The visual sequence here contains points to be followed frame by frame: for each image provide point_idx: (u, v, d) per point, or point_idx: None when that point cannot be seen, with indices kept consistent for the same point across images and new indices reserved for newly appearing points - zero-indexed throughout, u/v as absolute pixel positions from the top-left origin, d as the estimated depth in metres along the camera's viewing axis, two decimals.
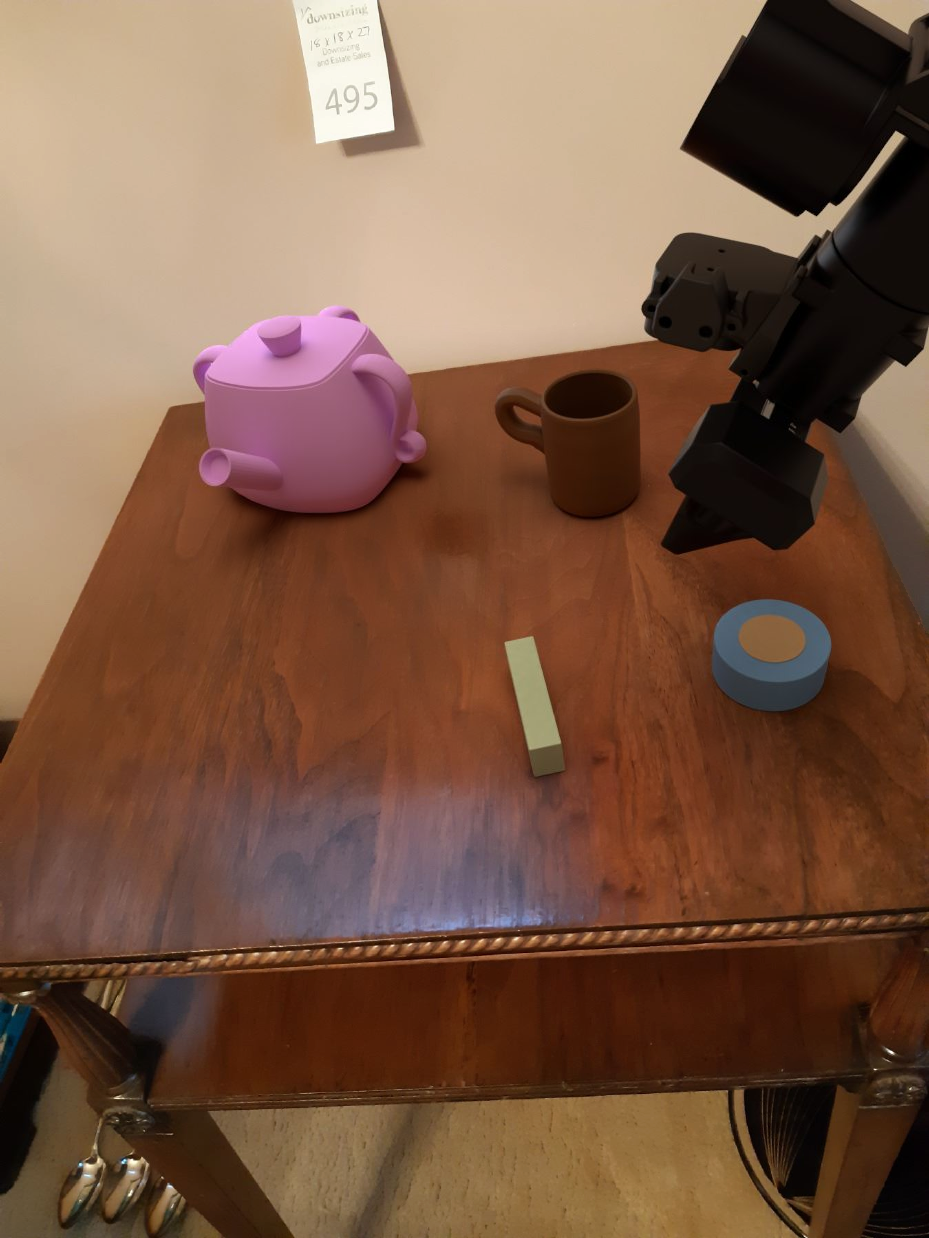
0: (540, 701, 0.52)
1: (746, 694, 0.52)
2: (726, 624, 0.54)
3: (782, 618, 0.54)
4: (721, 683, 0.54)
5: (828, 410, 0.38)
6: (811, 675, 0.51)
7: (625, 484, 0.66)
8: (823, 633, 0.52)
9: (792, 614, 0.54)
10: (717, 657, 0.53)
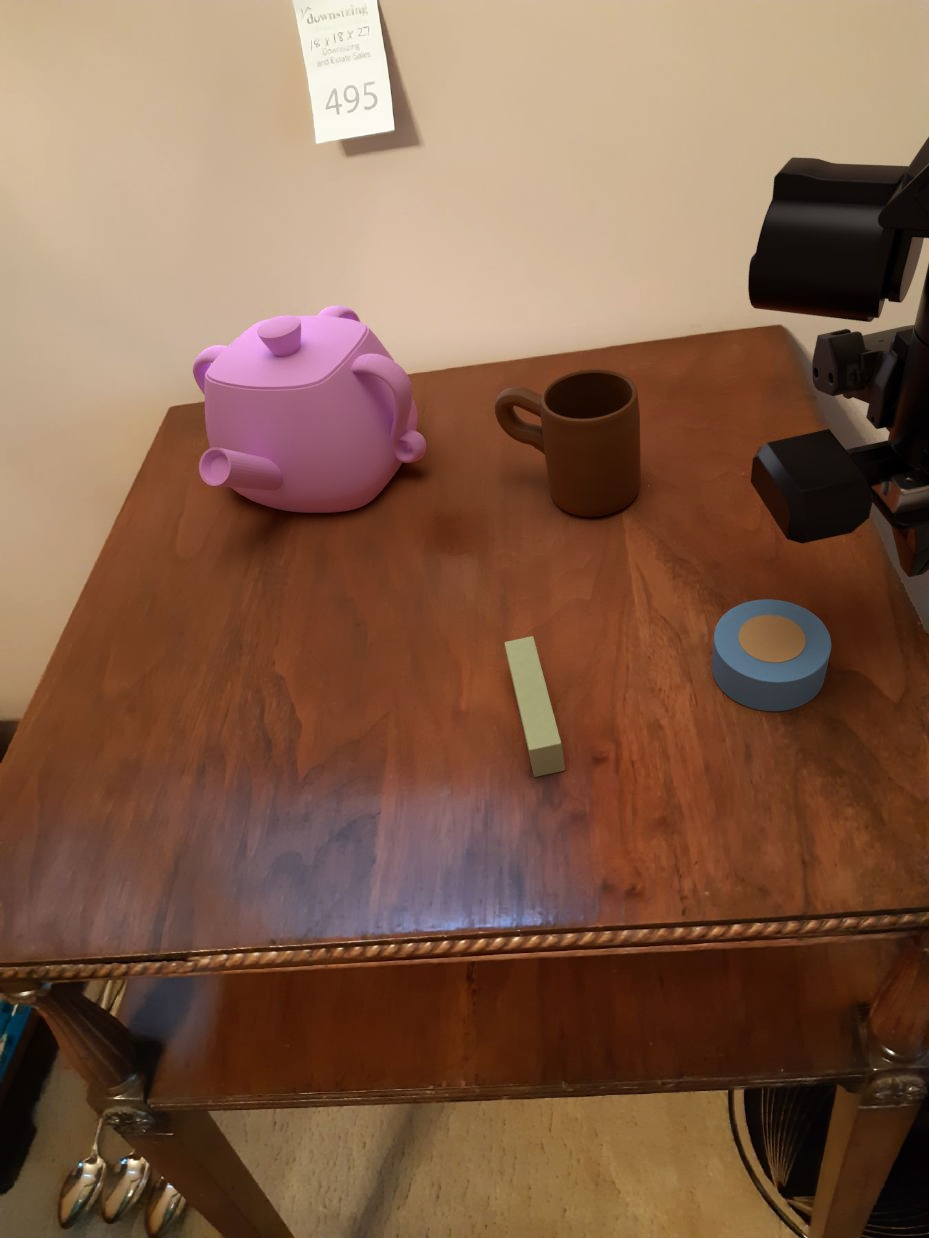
0: (540, 701, 0.52)
1: (746, 694, 0.52)
2: (726, 624, 0.54)
3: (782, 618, 0.54)
4: (721, 683, 0.54)
5: (923, 456, 0.42)
6: (811, 675, 0.51)
7: (625, 484, 0.66)
8: (823, 633, 0.52)
9: (792, 614, 0.54)
10: (717, 657, 0.53)
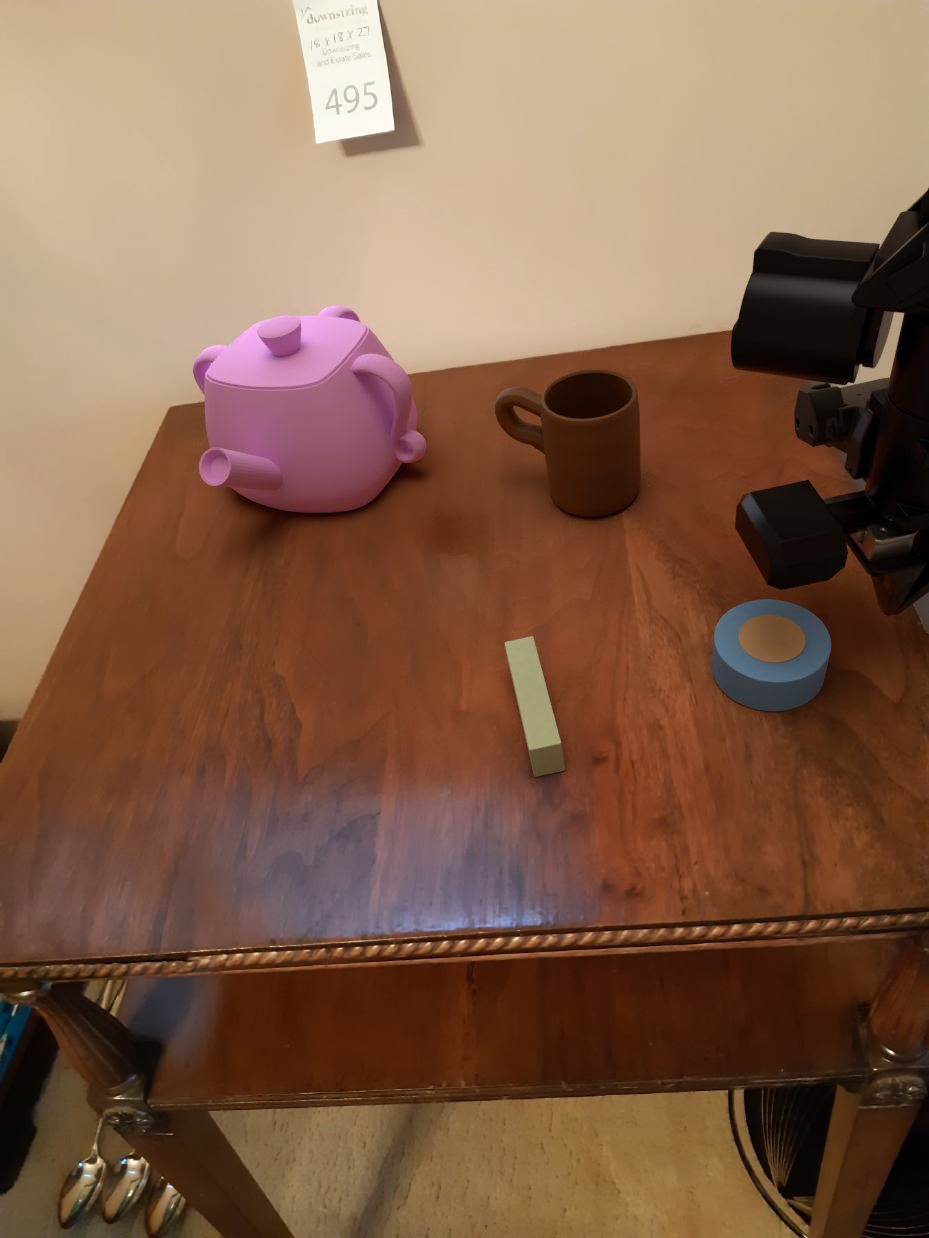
0: (540, 701, 0.52)
1: (746, 694, 0.52)
2: (726, 624, 0.54)
3: (782, 618, 0.54)
4: (721, 683, 0.54)
5: (896, 509, 0.44)
6: (811, 675, 0.51)
7: (625, 484, 0.66)
8: (823, 633, 0.52)
9: (792, 614, 0.54)
10: (717, 657, 0.53)
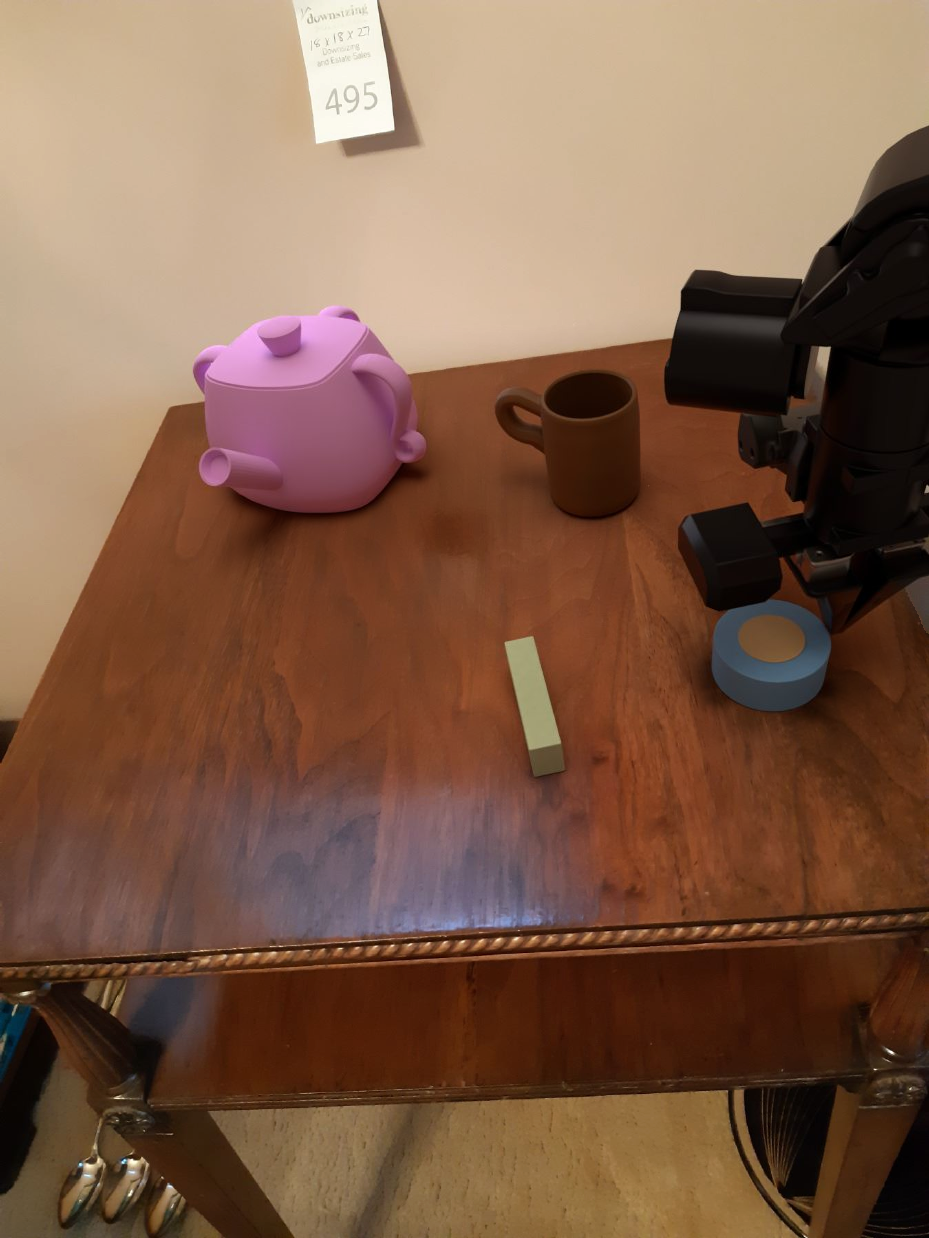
0: (540, 701, 0.52)
1: (746, 694, 0.52)
2: (726, 624, 0.54)
3: (782, 618, 0.54)
4: (721, 683, 0.54)
5: (830, 532, 0.45)
6: (810, 676, 0.51)
7: (625, 484, 0.66)
8: (822, 633, 0.52)
9: (791, 614, 0.54)
10: (717, 657, 0.53)
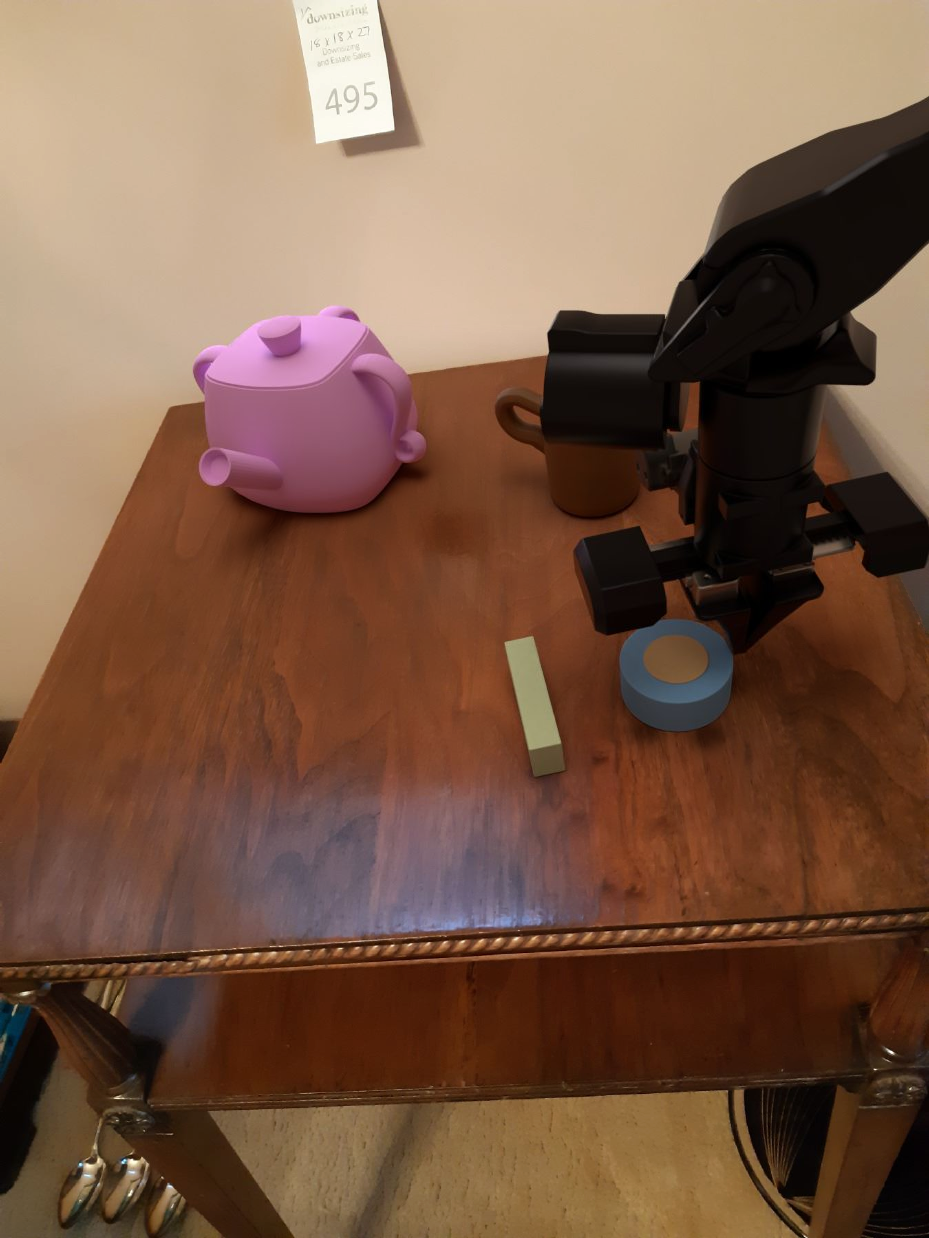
0: (540, 701, 0.52)
1: (649, 714, 0.53)
2: (633, 644, 0.54)
3: (688, 638, 0.54)
4: (627, 703, 0.54)
5: (715, 557, 0.45)
6: (711, 697, 0.51)
7: (625, 484, 0.66)
8: (726, 654, 0.53)
9: (697, 635, 0.54)
10: (622, 677, 0.53)
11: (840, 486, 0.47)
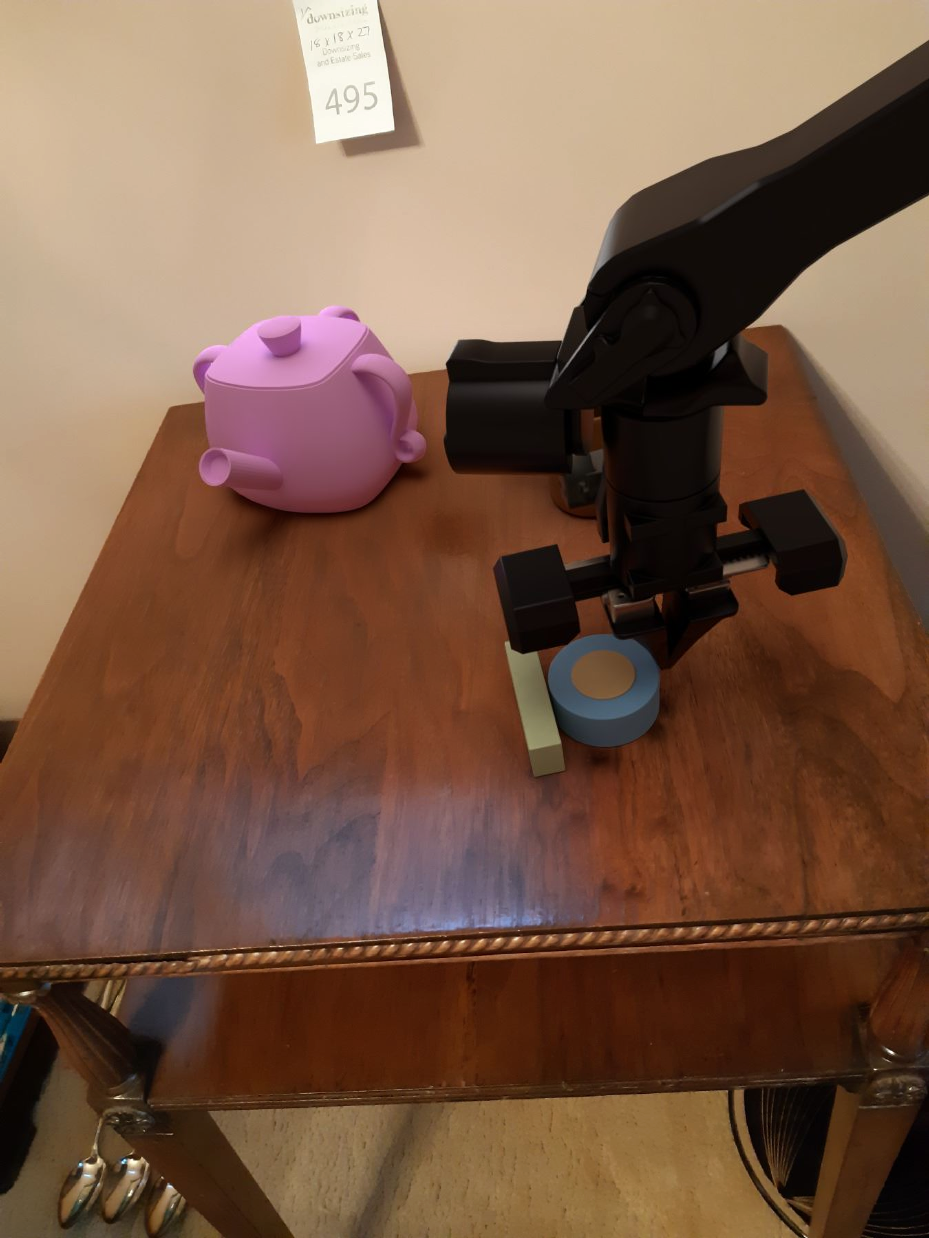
0: (540, 701, 0.52)
1: (576, 730, 0.53)
2: (562, 659, 0.55)
3: (616, 653, 0.54)
4: (556, 718, 0.54)
5: (627, 576, 0.45)
6: (635, 713, 0.51)
7: None
8: (653, 670, 0.53)
9: (626, 650, 0.54)
10: (550, 693, 0.53)
11: (756, 503, 0.47)
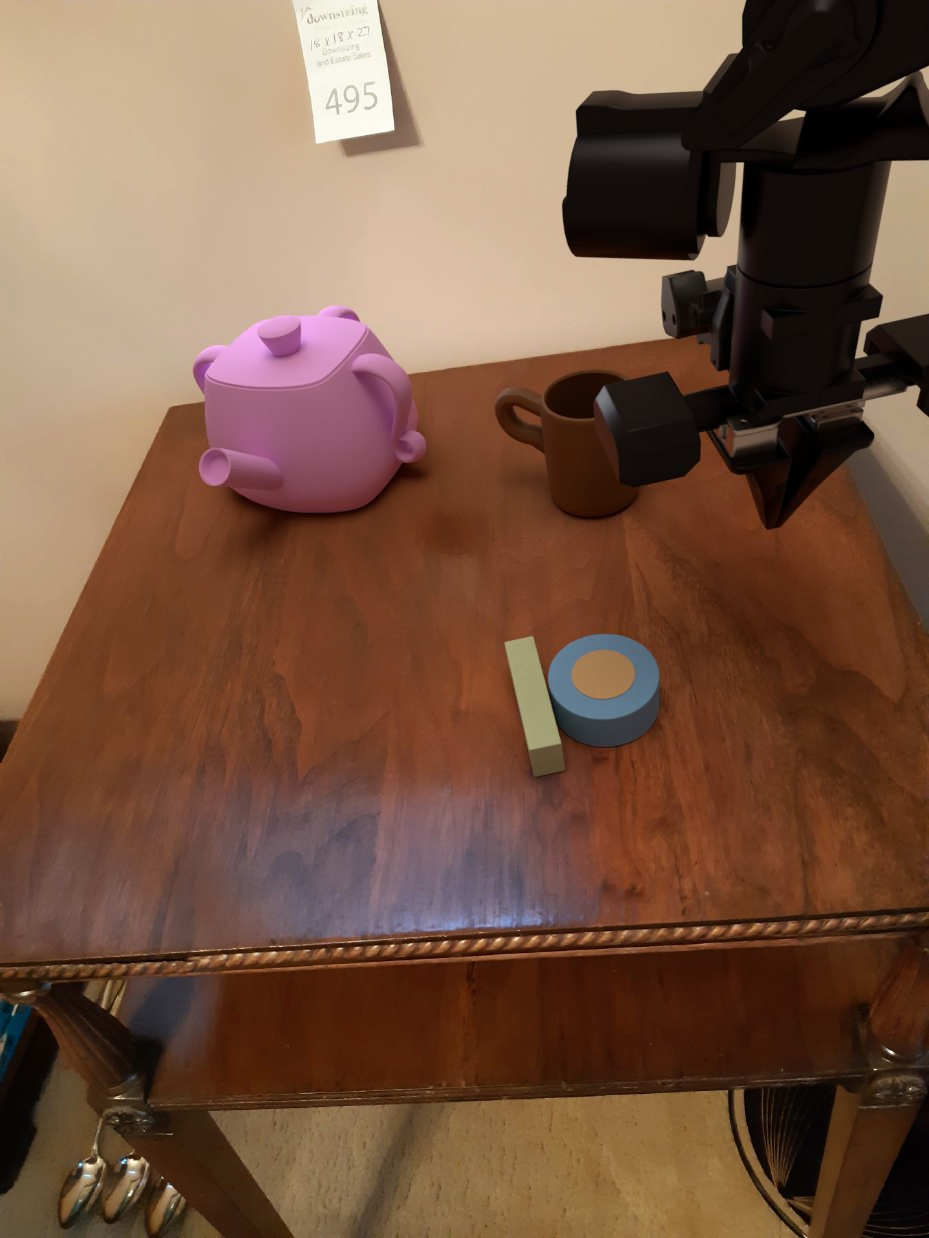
0: (540, 701, 0.52)
1: (576, 730, 0.53)
2: (562, 659, 0.55)
3: (616, 653, 0.54)
4: (556, 718, 0.54)
5: (754, 395, 0.40)
6: (635, 713, 0.51)
7: None
8: (652, 669, 0.53)
9: (626, 650, 0.54)
10: (550, 692, 0.53)
11: (889, 325, 0.43)
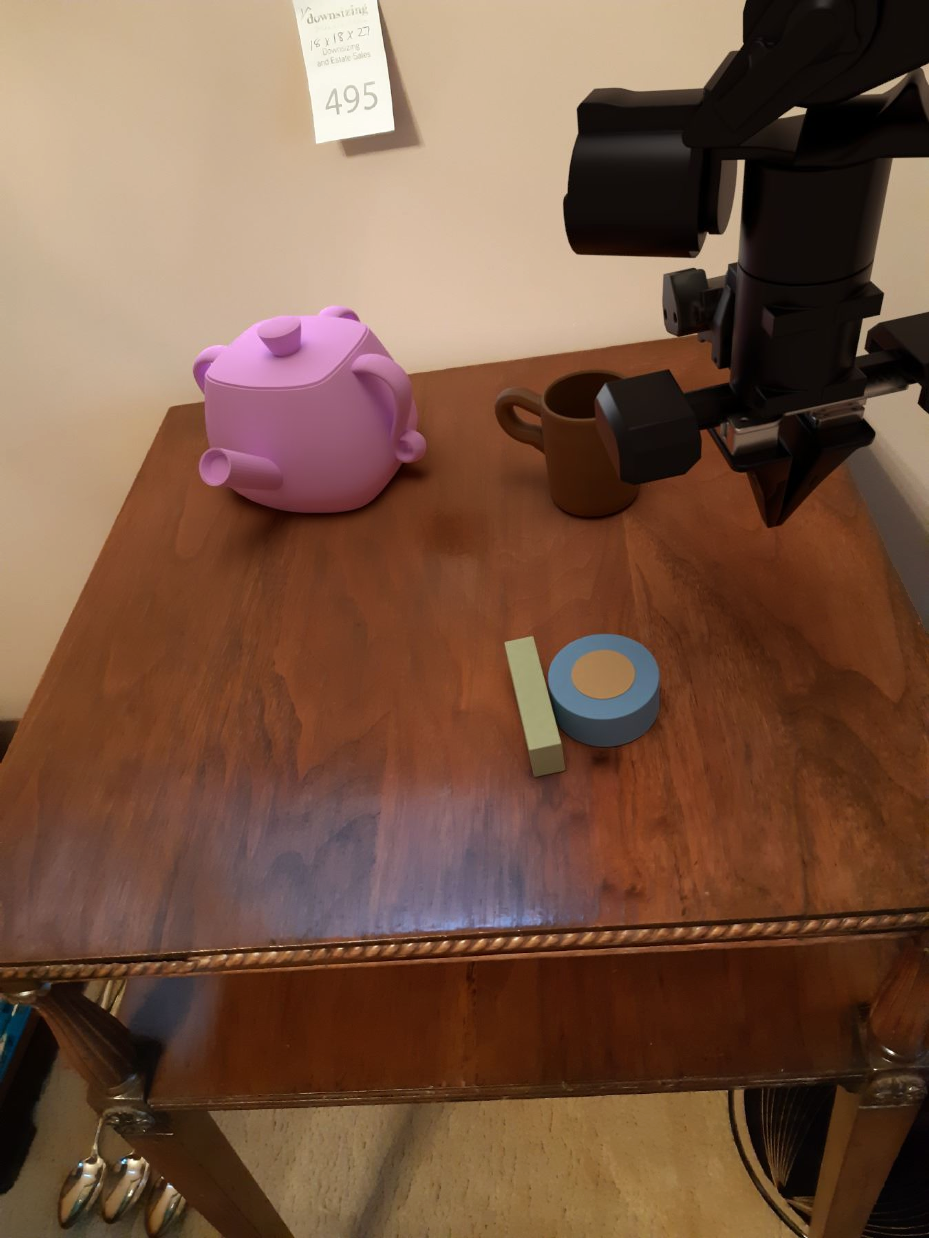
0: (540, 701, 0.52)
1: (576, 730, 0.53)
2: (562, 659, 0.55)
3: (616, 653, 0.54)
4: (556, 718, 0.54)
5: (755, 393, 0.40)
6: (635, 713, 0.51)
7: (625, 484, 0.66)
8: (652, 669, 0.53)
9: (626, 650, 0.54)
10: (550, 692, 0.53)
11: (891, 323, 0.42)
